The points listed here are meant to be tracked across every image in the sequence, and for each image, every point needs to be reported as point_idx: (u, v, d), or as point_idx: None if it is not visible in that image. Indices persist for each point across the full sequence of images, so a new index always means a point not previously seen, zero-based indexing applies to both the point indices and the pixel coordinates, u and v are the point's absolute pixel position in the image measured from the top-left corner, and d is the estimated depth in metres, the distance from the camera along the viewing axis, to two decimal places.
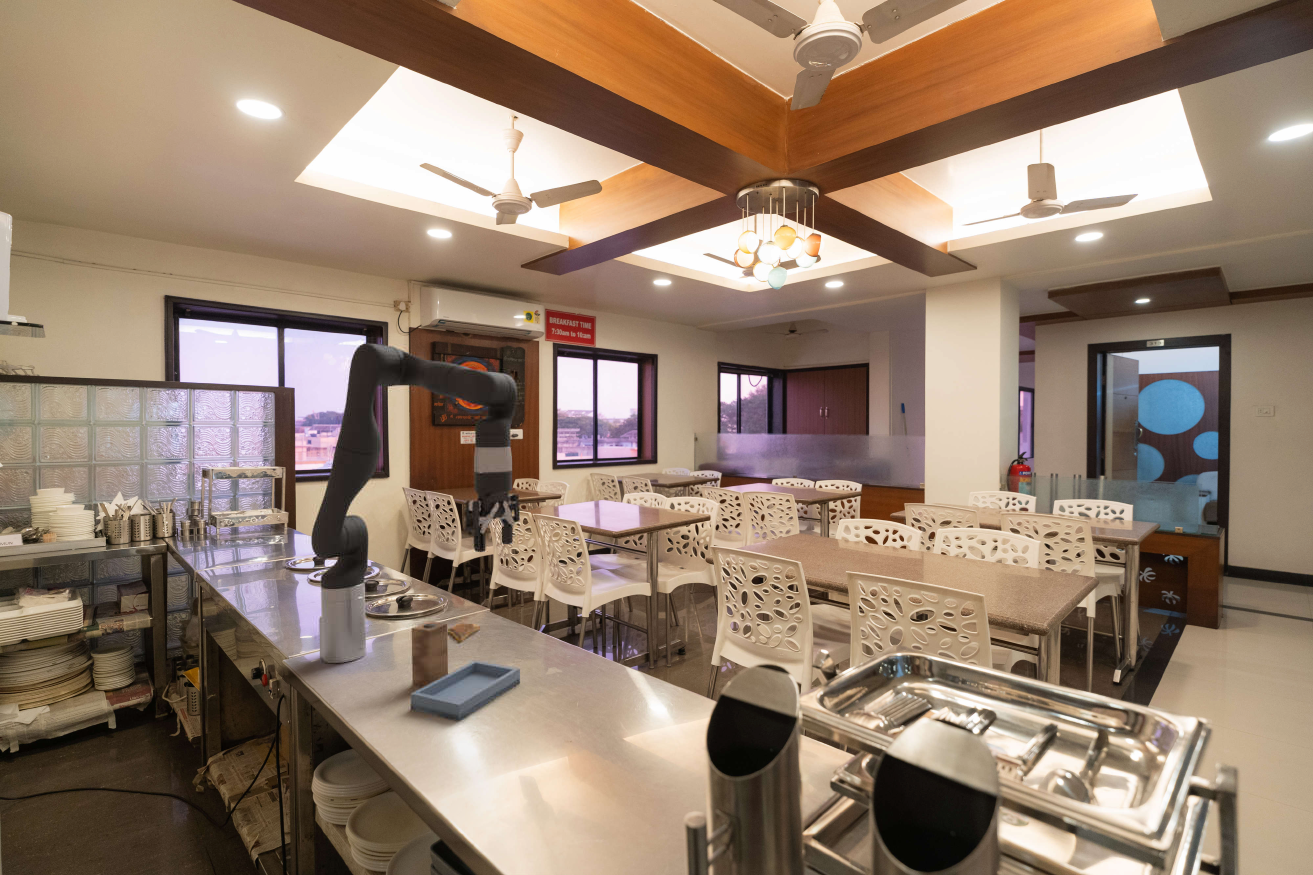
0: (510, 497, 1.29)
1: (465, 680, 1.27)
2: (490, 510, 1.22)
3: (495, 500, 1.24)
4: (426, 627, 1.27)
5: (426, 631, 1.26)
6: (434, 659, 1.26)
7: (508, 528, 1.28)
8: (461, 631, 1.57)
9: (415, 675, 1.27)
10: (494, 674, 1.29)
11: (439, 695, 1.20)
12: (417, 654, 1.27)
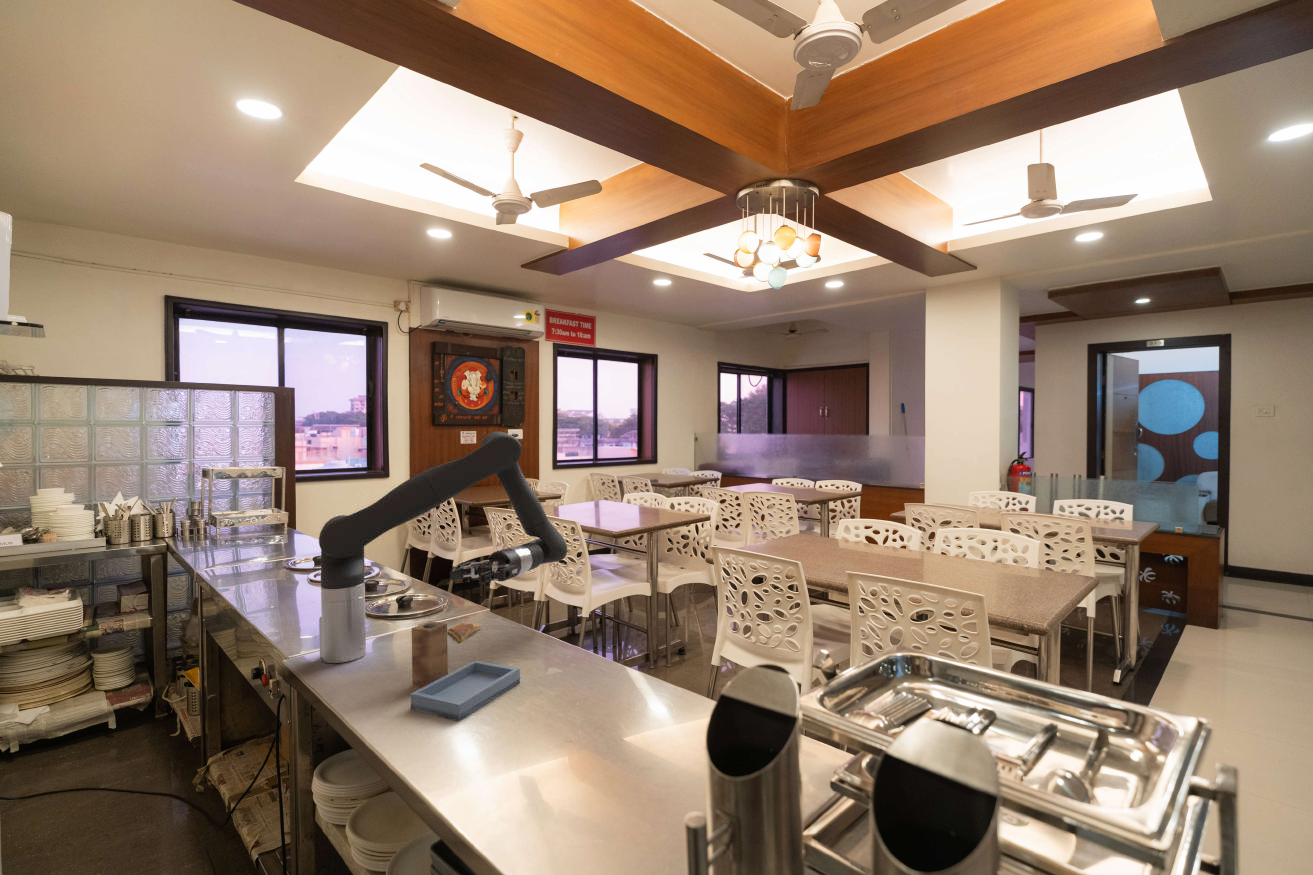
0: None
1: (465, 680, 1.27)
2: None
3: None
4: (426, 627, 1.27)
5: (426, 631, 1.26)
6: (434, 659, 1.26)
7: (462, 575, 1.43)
8: (461, 631, 1.57)
9: (415, 675, 1.27)
10: (494, 674, 1.29)
11: (439, 695, 1.20)
12: (417, 654, 1.27)
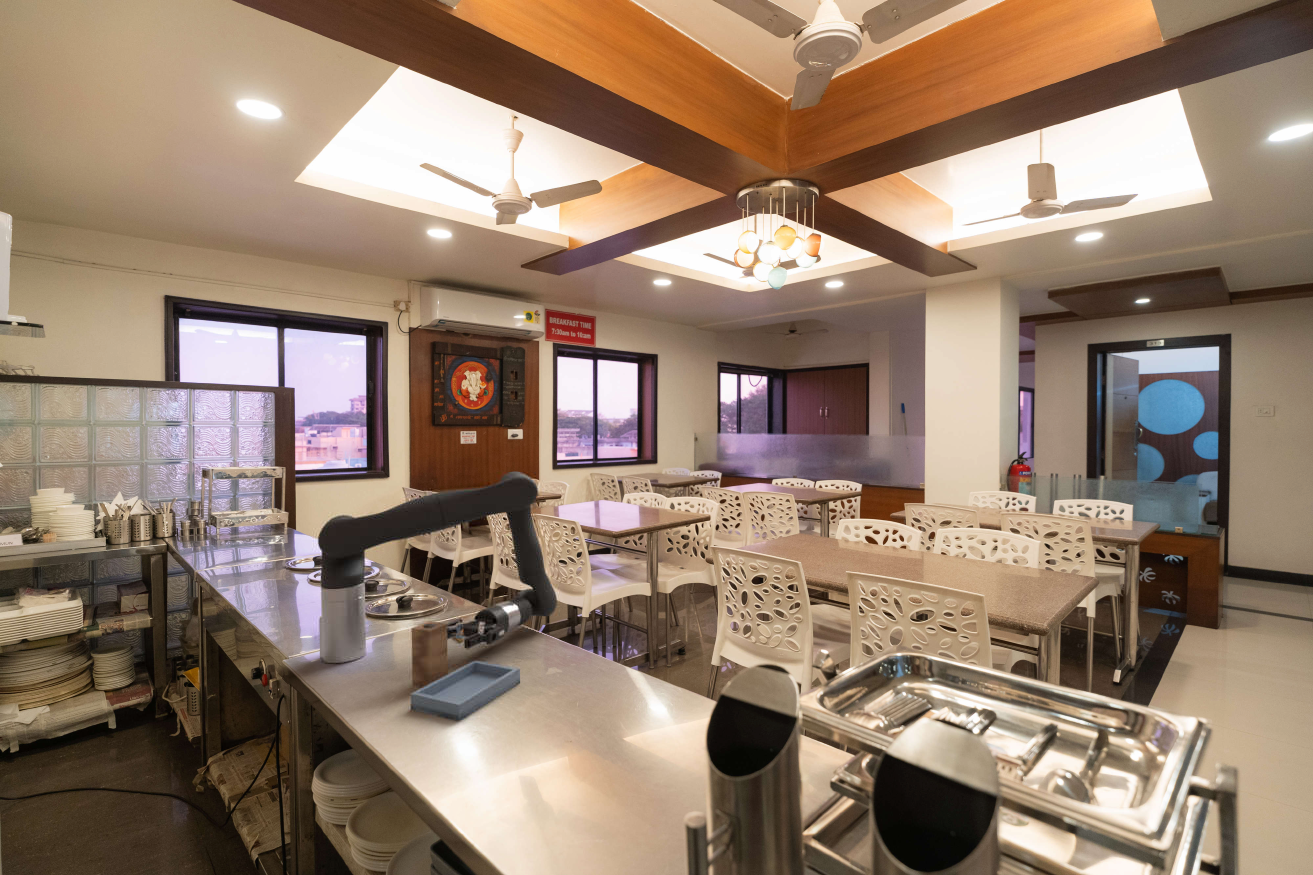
0: None
1: (465, 680, 1.27)
2: None
3: None
4: (426, 627, 1.27)
5: (425, 631, 1.26)
6: (434, 659, 1.26)
7: (447, 637, 1.39)
8: (461, 631, 1.57)
9: (415, 675, 1.27)
10: (494, 674, 1.29)
11: (439, 695, 1.20)
12: (417, 654, 1.27)
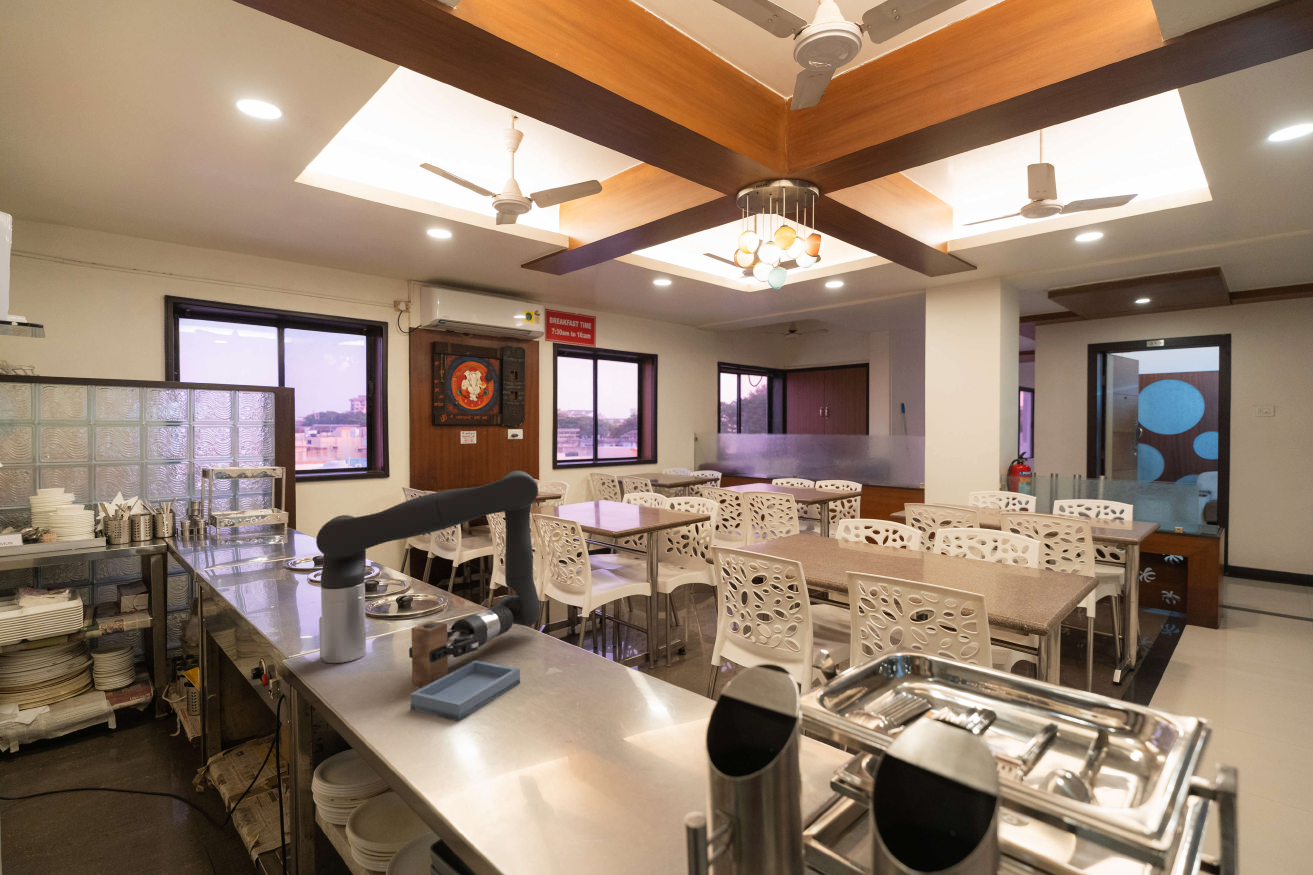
0: None
1: (465, 680, 1.27)
2: None
3: None
4: (426, 627, 1.27)
5: (426, 631, 1.26)
6: None
7: None
8: None
9: (415, 675, 1.27)
10: (494, 674, 1.29)
11: (439, 695, 1.20)
12: (417, 654, 1.27)
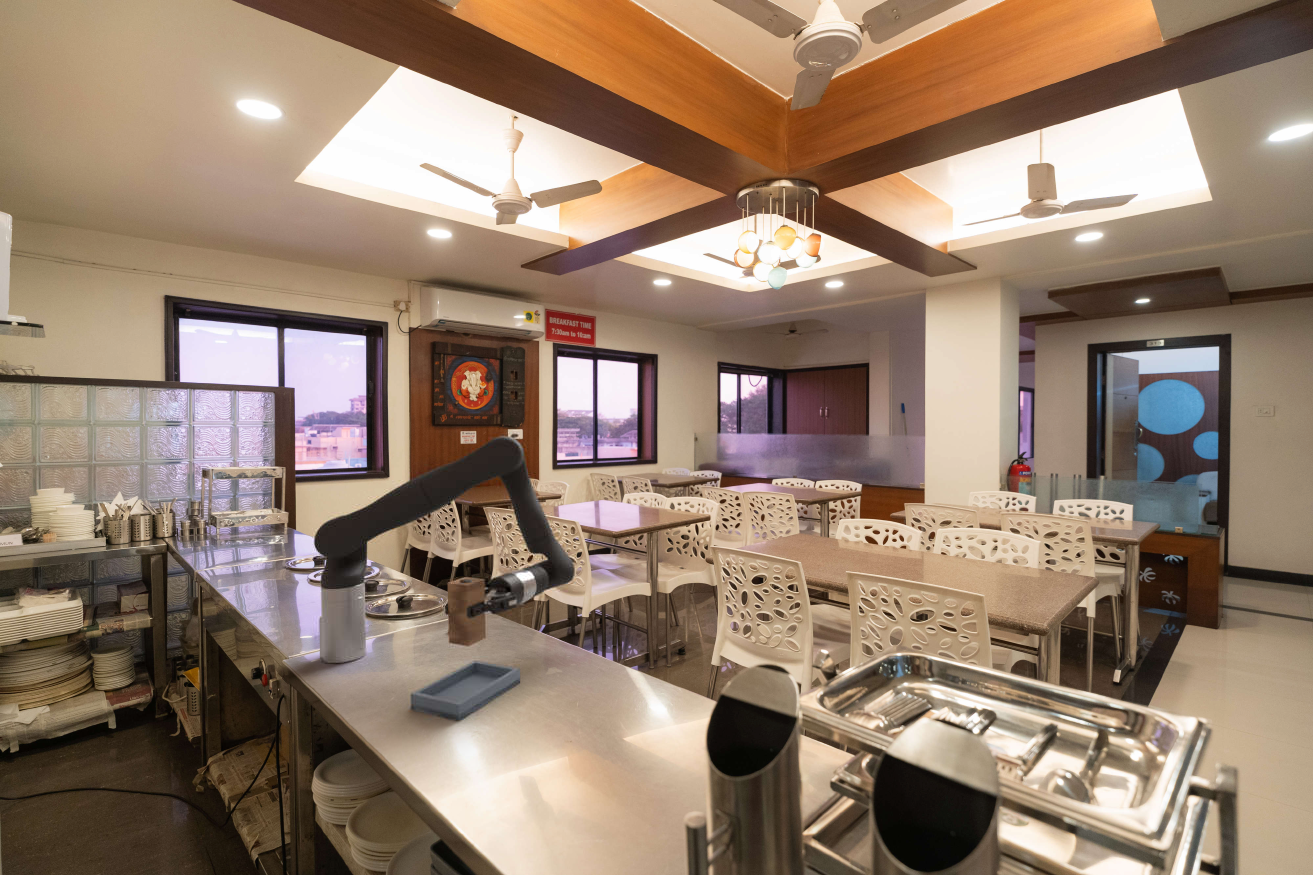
0: None
1: (465, 680, 1.27)
2: None
3: None
4: (463, 582, 1.20)
5: (463, 585, 1.19)
6: None
7: None
8: None
9: (451, 632, 1.20)
10: (494, 674, 1.29)
11: (439, 695, 1.20)
12: (454, 610, 1.20)
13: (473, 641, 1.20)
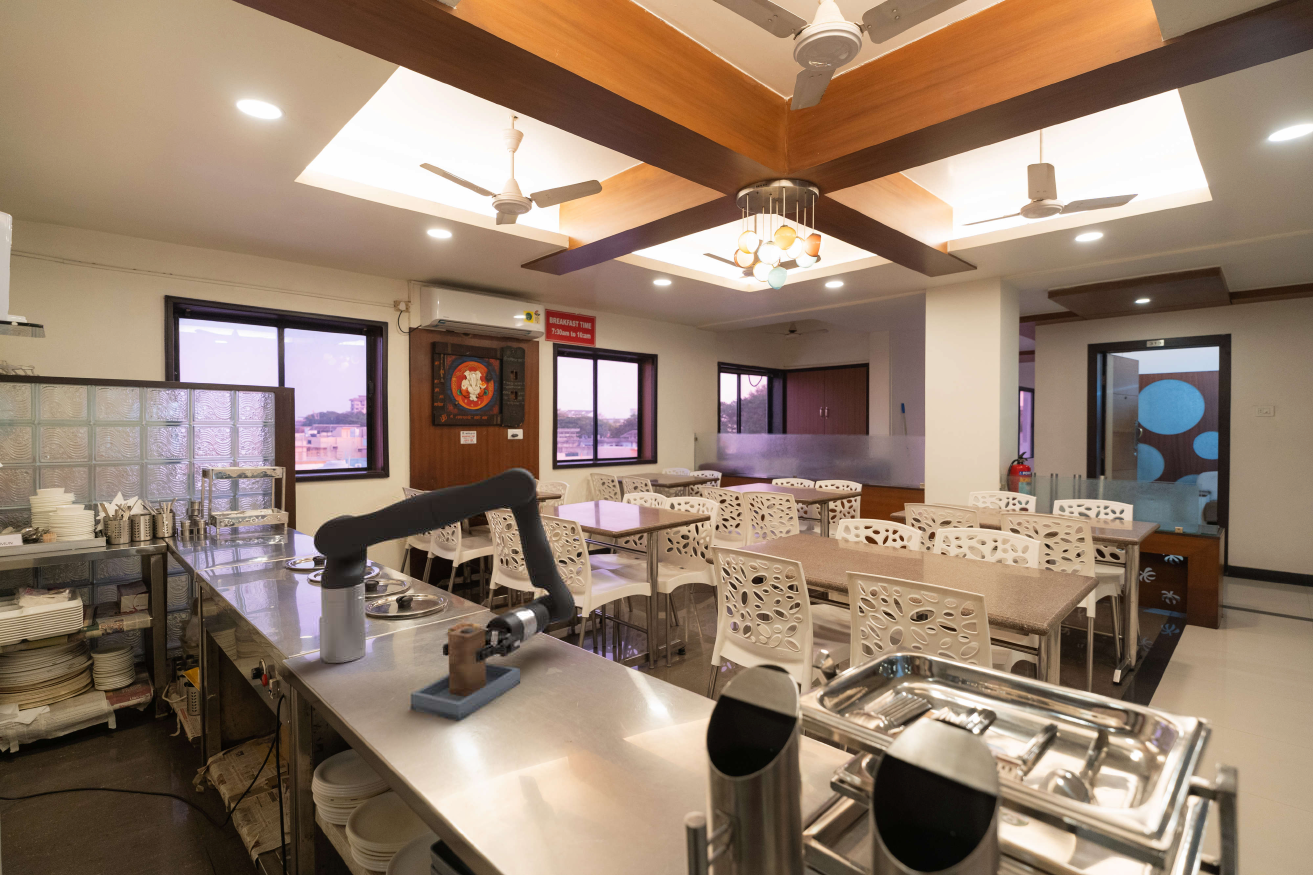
0: None
1: None
2: None
3: None
4: (464, 632, 1.21)
5: (464, 637, 1.19)
6: (472, 666, 1.20)
7: None
8: None
9: (452, 683, 1.20)
10: (494, 674, 1.29)
11: (439, 695, 1.20)
12: (454, 661, 1.20)
13: None
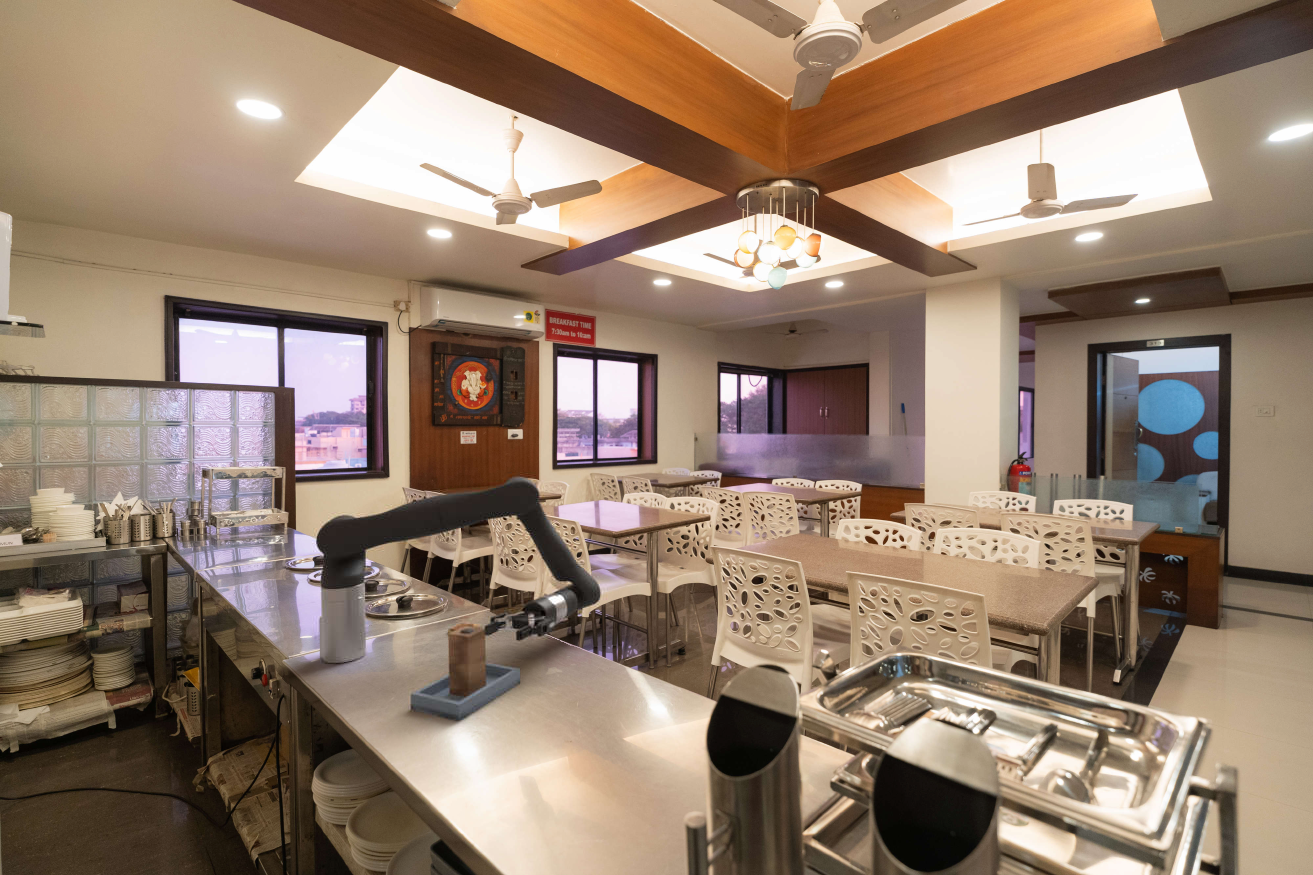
0: None
1: None
2: None
3: None
4: (464, 632, 1.21)
5: (464, 637, 1.19)
6: (472, 666, 1.20)
7: (497, 629, 1.36)
8: None
9: (452, 683, 1.20)
10: (494, 674, 1.29)
11: (439, 695, 1.20)
12: (454, 661, 1.20)
13: None
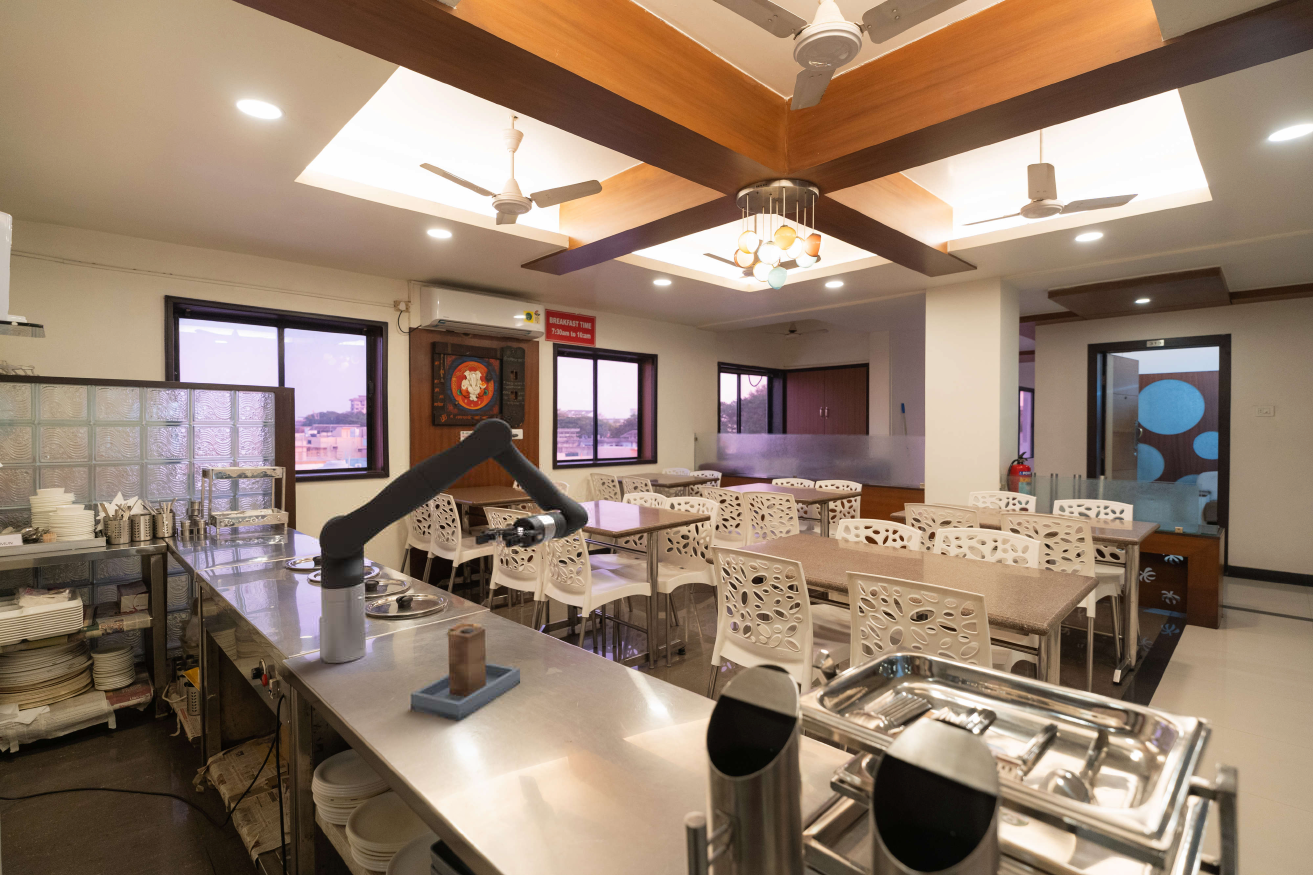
0: (501, 535, 1.49)
1: None
2: None
3: None
4: (464, 632, 1.21)
5: (464, 637, 1.19)
6: (472, 666, 1.20)
7: (487, 540, 1.42)
8: None
9: (452, 683, 1.20)
10: (494, 674, 1.29)
11: (439, 695, 1.20)
12: (454, 661, 1.20)
13: None
